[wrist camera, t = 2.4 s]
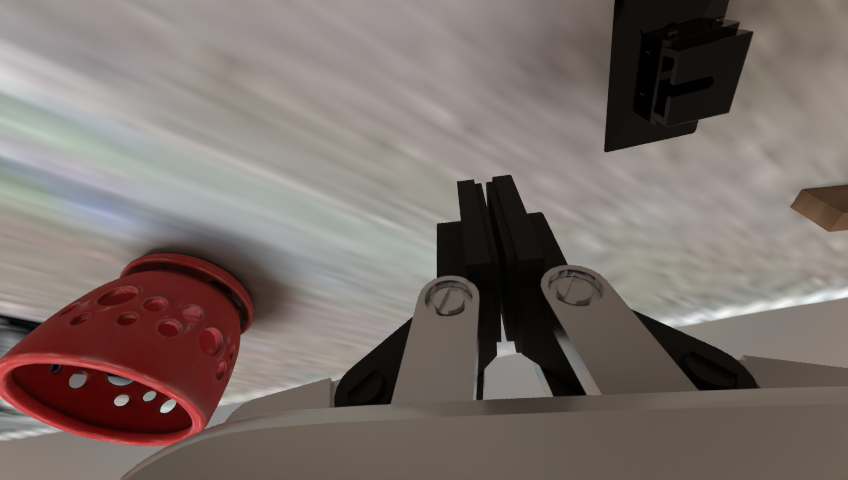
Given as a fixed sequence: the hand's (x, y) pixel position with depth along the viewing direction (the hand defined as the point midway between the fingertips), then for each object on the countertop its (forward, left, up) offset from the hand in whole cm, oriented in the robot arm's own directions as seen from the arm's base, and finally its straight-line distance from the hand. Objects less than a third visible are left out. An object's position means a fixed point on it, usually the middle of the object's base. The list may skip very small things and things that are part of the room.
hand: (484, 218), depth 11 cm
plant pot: (+13, -27, -13) cm, 33 cm away
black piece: (0, +11, -13) cm, 17 cm away
